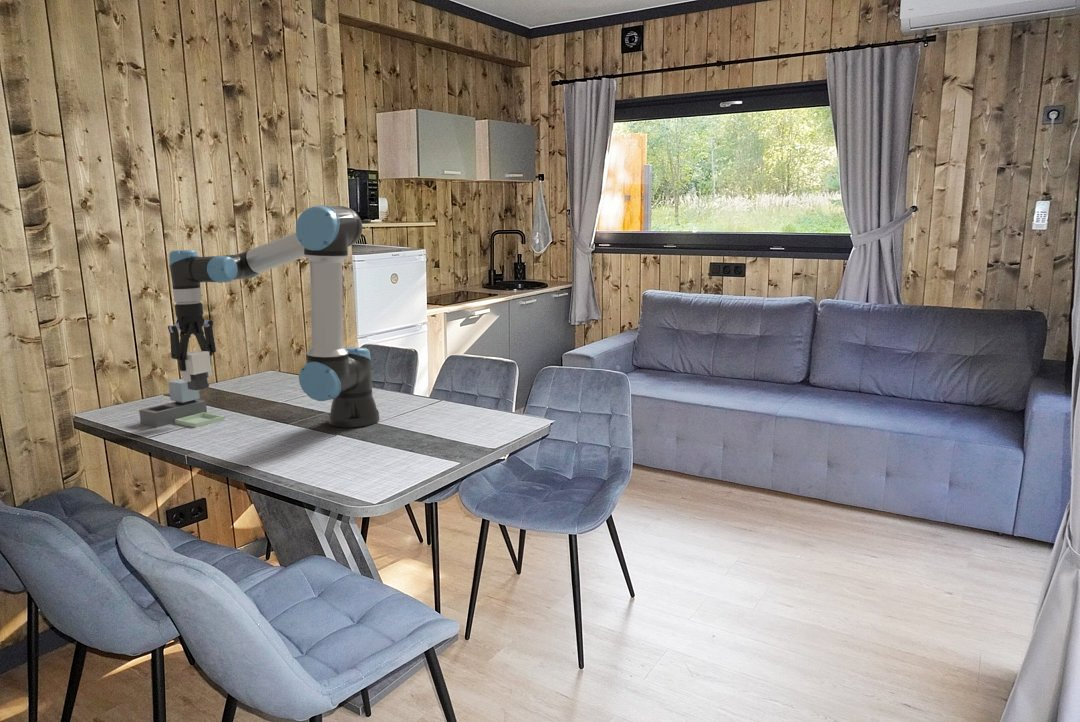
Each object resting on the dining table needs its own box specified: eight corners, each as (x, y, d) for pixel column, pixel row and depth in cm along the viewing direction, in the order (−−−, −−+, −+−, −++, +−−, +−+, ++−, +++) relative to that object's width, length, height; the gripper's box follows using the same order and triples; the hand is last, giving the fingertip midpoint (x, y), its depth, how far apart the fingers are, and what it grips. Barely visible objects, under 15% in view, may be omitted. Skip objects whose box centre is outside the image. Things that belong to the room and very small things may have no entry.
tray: (224, 421, 233) (224, 416, 232) (196, 429, 224) (195, 423, 224) (204, 417, 238) (203, 412, 237) (175, 425, 229) (174, 419, 229)
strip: (218, 413, 243) (214, 376, 240) (157, 429, 225) (152, 390, 223) (202, 410, 247) (198, 374, 244) (140, 426, 229) (136, 387, 227)
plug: (213, 387, 230) (209, 351, 228) (195, 391, 225) (191, 354, 223) (200, 385, 233) (196, 350, 231) (183, 389, 228) (178, 353, 226)
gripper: (208, 299, 234) (216, 372, 238) (150, 305, 218) (160, 384, 222) (224, 299, 230) (232, 374, 234) (166, 306, 214) (176, 386, 218)
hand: (197, 378), depth 228 cm, fingers closed on plug, 6 cm apart
